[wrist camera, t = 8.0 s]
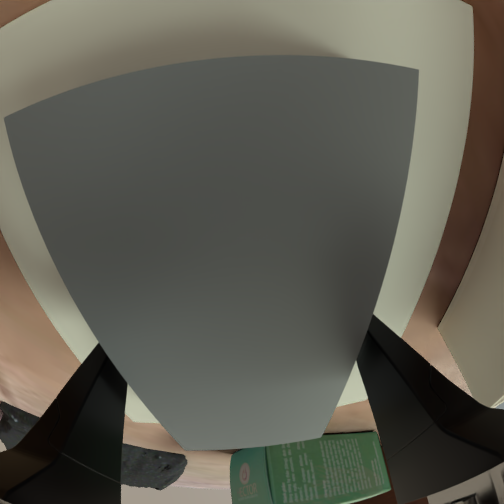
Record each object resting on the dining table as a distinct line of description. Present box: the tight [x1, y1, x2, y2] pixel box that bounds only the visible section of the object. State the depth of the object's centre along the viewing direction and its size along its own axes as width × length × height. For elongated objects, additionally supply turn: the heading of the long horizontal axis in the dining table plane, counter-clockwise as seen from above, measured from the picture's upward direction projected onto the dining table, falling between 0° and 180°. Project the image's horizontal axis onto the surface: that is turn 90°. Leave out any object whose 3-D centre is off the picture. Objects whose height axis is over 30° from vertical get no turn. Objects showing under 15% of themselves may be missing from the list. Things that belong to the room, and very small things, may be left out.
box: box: [230, 431, 391, 504], centre depth 21 cm, size 7×14×8 cm, turn 64°
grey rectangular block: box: [4, 55, 419, 450], centre depth 9 cm, size 7×16×3 cm, turn 3°
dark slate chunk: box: [0, 402, 187, 490], centre depth 22 cm, size 15×22×5 cm
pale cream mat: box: [0, 0, 474, 423], centre depth 11 cm, size 16×22×1 cm
